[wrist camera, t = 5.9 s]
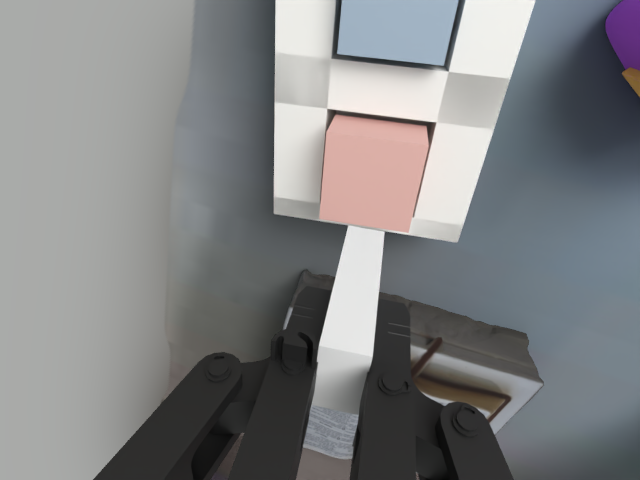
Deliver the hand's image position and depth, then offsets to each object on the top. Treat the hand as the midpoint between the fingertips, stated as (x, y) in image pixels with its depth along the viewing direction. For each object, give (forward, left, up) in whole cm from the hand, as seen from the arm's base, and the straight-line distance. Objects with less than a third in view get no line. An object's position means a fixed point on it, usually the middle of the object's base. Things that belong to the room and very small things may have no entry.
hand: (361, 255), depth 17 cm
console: (+4, 0, -18) cm, 19 cm away
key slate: (+9, 0, -15) cm, 17 cm away
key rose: (-1, 0, -13) cm, 13 cm away
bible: (-27, -5, -19) cm, 33 cm away
